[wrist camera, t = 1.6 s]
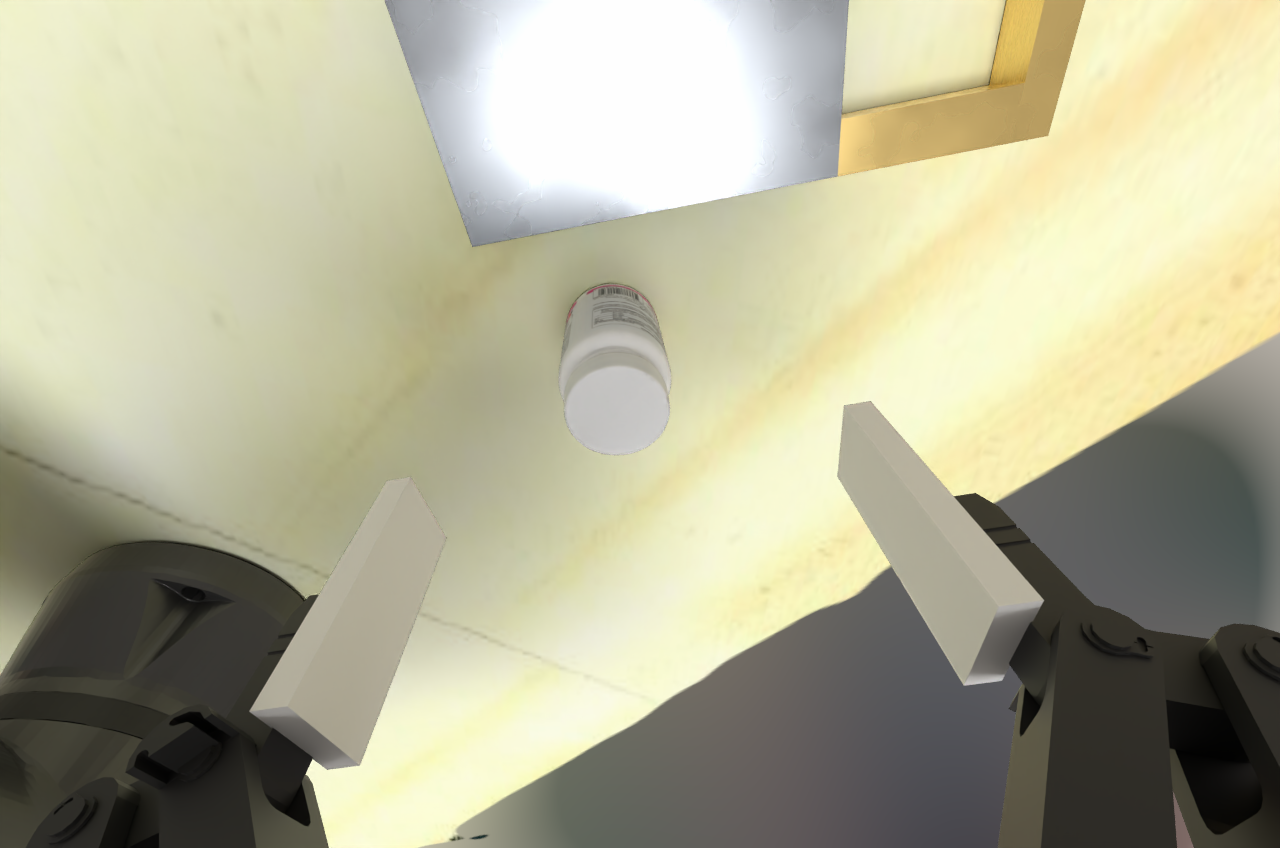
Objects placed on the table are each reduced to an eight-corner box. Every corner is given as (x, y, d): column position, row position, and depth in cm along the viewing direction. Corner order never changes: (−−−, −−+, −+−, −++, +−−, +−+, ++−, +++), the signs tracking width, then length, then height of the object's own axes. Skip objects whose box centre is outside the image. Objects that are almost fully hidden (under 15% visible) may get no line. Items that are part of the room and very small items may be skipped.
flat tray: (482, 236, 22) (472, 246, 20) (364, -110, 16) (336, -136, 14) (1012, 133, 21) (1048, 135, 19) (1111, -279, 15) (1176, -329, 13)
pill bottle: (610, 383, 26) (612, 483, 19) (547, 324, 24) (524, 412, 17) (676, 330, 25) (705, 417, 18) (615, 261, 23) (621, 329, 16)
